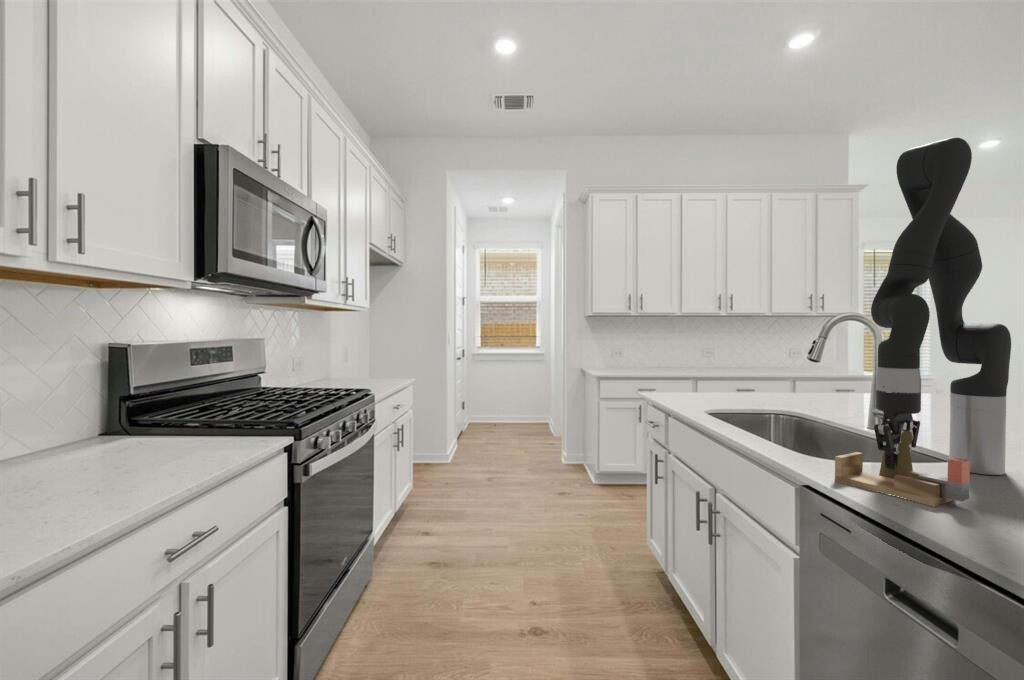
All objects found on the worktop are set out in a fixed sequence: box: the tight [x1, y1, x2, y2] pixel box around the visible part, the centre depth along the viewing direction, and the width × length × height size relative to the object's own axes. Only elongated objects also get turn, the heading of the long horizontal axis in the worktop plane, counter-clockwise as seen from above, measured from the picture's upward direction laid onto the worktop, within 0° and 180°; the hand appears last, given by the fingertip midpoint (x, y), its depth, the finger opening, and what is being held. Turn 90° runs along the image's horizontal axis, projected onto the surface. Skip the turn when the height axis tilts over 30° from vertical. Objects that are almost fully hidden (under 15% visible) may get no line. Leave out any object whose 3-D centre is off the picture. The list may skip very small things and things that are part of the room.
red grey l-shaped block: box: [918, 458, 971, 502], centre depth 90 cm, size 3×6×7 cm, turn 27°
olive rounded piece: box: [878, 430, 914, 479], centre depth 104 cm, size 6×6×11 cm
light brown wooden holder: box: [834, 451, 954, 507], centre depth 97 cm, size 8×17×5 cm, turn 27°
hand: (897, 469), depth 104 cm, fingers closed on olive rounded piece, 3 cm apart
